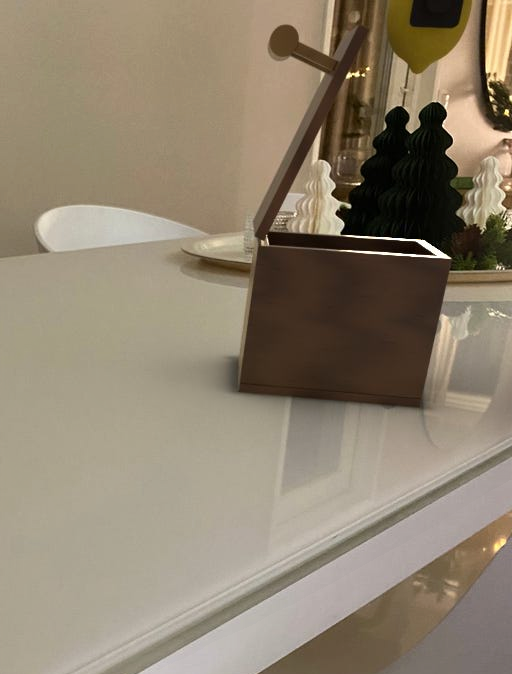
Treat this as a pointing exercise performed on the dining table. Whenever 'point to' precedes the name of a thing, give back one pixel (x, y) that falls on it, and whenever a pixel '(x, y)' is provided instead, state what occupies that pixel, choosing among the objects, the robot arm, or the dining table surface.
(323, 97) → the lid
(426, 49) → the lemon
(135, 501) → the dining table surface
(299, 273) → the chest
